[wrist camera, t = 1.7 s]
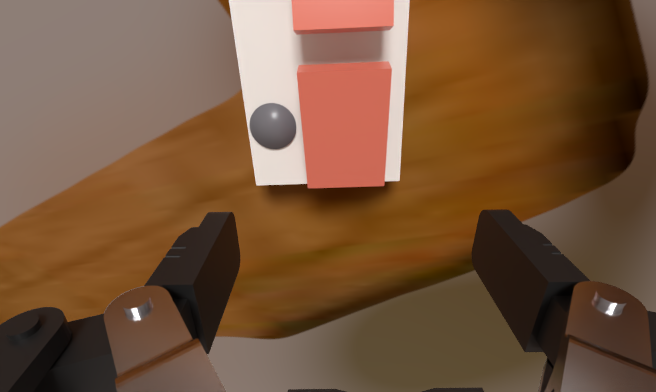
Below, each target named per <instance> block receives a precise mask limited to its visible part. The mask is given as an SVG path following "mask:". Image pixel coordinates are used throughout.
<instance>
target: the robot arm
mask: <svg viewBox="0 0 656 392" xmlns="http://www.w3.org/2000/svg"><path fill="white" fill-rule="evenodd" d="M472 262H473V266H474V269H475V270H476V272H477V274H478V275H479V277H480V279H481V280H482V282H483V284H484V285H485V287H486V289H487V290H488V292H489V293H490V295H491V297H492V298H493V300H494V302H495V303H496V305H497V307H498V308H499V310H500V311H501V313H502V315H503V317H504V318H505V320H506V322H507V323H508V325H509V327H510V328H511V330H512V332H513V333H514V335H515V336H516V338H517V340H518V342H519V343H520V345H521V346H522V348H523V350H524V351H525V352H544V353H545V354H546V356H547V359H546V362H545V364H544V367H543V372H542V376H541V380H540V385H539V389H538V392H656V313H655V312H650V311H647V310H646V308H645V306H644V305H643V304H642V303H641V302H640V301H639V300H638V299H637V298H635V297H634V296H632V295H631V294H629V293H628V292H626V291H624V290H622V289H620V288H617V287H615V286H612V285H609V284H605V283H602V282H595V281H590V280H589V279H588V278H587V277H586V276H585V275H584V274H583V273H582V272H581V271H580V270H579V269H578V268H577V267H576V266H574V264H572V262H571V261H569V260H568V259H567V258H566V257H565V256H564V255H563V254H561V252H560V251H559V250H558V249H557V248H556V247H555V246H552V243H551V242H550V241H549V240H548V239H547V238H546V237H545V236H544V235H543V234H542V233H540V232H538V231H536V230H535V229H533V228H531V227H529V226H528V225H523V224H522V223H521V222H520V221H519V220H518V219H517V217H516V216H515V215H514V214H513V213H512V212H511V211H509V210H483V211H482V212H481V213H480V215H479V219H478V224H477V229H476V234H475V239H474V243H473V248H472ZM239 267H240V249H239V243H238V236H237V229H236V222H235V217H234V214H233V213H232V212H209V213H207V215H206V216H205V218H204V220H203V221H202V223H201V224H200V226H199V227H193V228H190V229H189V230H187V231H186V232H185V233H183V234H182V235H180V236H179V237H178V238H177V240H176V241H175V243H174V244H173V246H172V249H170V250H169V251H168V253H167V254H166V257H165V258H163V260H162V261H161V263H160V264H159V266H158V267H157V268H156V270H155V271H154V273H153V274H152V276H151V277H150V278H149V280H148V281H147V283H146V284H145V285H144V286H142V287H138V288H135V289H132V290H130V291H127V292H125V293H123V294H122V295H120V296H119V297H117V298H116V299H115V300H113V301H112V302H111V303H110V304H109V305H108V307H107V308H106V310H105V312H104V314H101V315H97V316H92V317H88V318H84V319H79V320H75V321H71V322H67V320H66V318H65V316H64V314H63V312H62V311H61V310H60V309H58V308H53V307H43V308H37V309H33V310H30V311H27V312H24V313H21V314H19V315H17V316H15V317H13V318H11V319H9V320H7V321H6V322H4V323H2V324H1V325H0V392H226V390H225V388H224V386H223V384H222V382H221V380H220V379H219V377H218V375H217V373H216V371H215V369H214V367H213V365H212V363H211V362H210V360H209V358H208V356H207V354H209V352H210V349H211V346H212V343H213V341H214V338H215V335H216V332H217V330H218V327H219V324H220V321H221V318H222V316H223V313H224V310H225V307H226V305H227V302H228V299H229V296H230V293H231V291H232V288H233V285H234V282H235V280H236V277H237V274H238V271H239ZM288 392H345V391H341V390H337V389H305V390H304V389H303V390H302V389H298V390H288ZM423 392H484V391H483V389H482V388H433V389H430V390H426V391H423Z"/></svg>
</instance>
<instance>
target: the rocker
mask: <svg viewBox="0 0 656 392" xmlns="http://www.w3.org/2000/svg"><path fill="white" fill-rule="evenodd" d="M391 76H392V68H391V65H390V63H389V61H384V62H360V63H337V64H313V65H298V69H297V81H298V92H299V102H300V113H301V123H302V133H303V144H304V154H305V164H306V175H307V185H308V188H337V187H369V186H384V184H385V168H386V153H387V138H388V122H389V107H390V91H391Z"/></svg>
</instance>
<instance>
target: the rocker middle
mask: <svg viewBox="0 0 656 392" xmlns="http://www.w3.org/2000/svg"><path fill="white" fill-rule="evenodd" d="M292 16H293V31H294V32H295V33H296V35H298V34H320V33H342V32H364V31H385V30H390V29H391V28H392V27H393V26H394V0H292Z"/></svg>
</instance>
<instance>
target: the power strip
mask: <svg viewBox="0 0 656 392" xmlns="http://www.w3.org/2000/svg"><path fill="white" fill-rule="evenodd" d="M409 1H410V0H394V26H393V27H392V28H391V29H390V30H385V31H364V32H342V33H320V34H298V35H296V33H295V32H294V31H293V16H292V0H229V4H230V11H231V18H232V24H233V31H234V38H235V45H236V51H237V58H238V65H239V71H240V78H241V85H242V92H243V99H244V105H245V112H246V119H247V126H248V132H249V139H250V146H251V153H252V159H253V166H254V173H255V180H256V185H285V184H307V175H306V164H305V154H304V144H303V133H302V123H301V113H300V102H299V92H298V81H297V69H298V65H313V64H337V63H360V62H384V61H389V63H390V65H391V68H392V76H391V91H390V107H389V122H388V138H387V153H386V168H385V181H399V180H400V162H401V144H402V126H403V108H404V90H405V73H406V55H407V37H408V19H409Z"/></svg>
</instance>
